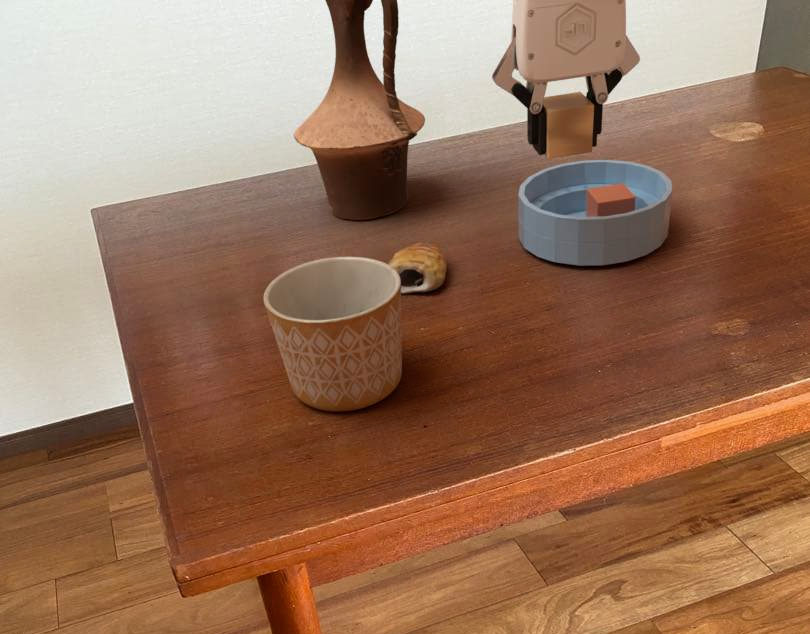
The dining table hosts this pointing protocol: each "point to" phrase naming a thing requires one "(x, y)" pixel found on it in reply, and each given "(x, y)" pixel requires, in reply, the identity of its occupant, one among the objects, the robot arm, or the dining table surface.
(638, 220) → the bowl
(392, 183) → the pitcher
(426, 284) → the pastry
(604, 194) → the block
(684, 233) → the dining table surface
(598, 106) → the robot arm
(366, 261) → the planter
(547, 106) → the block
